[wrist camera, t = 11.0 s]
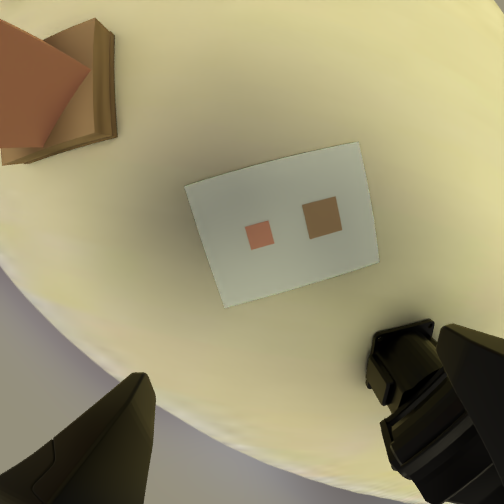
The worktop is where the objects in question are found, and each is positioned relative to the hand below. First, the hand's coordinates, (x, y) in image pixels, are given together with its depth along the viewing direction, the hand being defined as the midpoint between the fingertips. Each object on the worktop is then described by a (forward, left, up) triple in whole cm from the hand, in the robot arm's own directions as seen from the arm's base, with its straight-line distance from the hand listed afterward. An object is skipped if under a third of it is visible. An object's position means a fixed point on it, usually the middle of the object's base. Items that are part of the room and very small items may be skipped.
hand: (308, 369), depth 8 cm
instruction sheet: (-2, -1, -13) cm, 13 cm away
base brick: (+13, -12, -13) cm, 22 cm away
